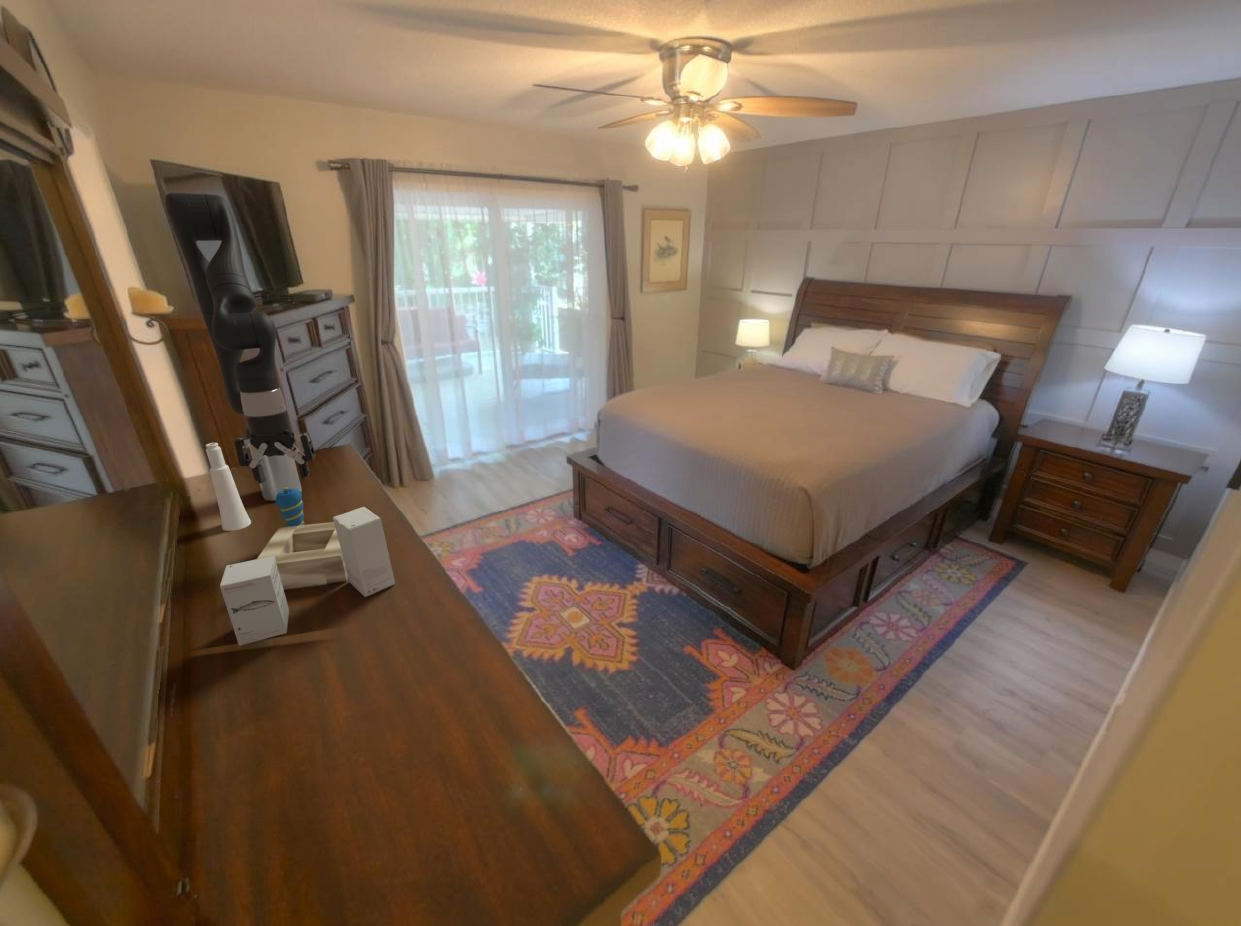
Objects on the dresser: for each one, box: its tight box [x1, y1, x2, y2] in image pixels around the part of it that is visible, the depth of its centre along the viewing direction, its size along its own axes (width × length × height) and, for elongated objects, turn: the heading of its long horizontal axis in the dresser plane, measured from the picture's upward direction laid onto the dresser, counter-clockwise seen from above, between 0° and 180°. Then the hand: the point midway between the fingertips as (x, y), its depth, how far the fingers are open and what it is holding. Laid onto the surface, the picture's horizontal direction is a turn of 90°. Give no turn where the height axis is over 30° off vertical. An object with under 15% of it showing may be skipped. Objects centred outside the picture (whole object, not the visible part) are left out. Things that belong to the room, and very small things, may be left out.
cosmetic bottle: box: [205, 442, 252, 532], centre depth 123 cm, size 6×6×22 cm
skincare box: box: [332, 506, 396, 598], centre depth 102 cm, size 8×7×16 cm
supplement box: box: [219, 556, 290, 647], centre depth 90 cm, size 7×7×13 cm
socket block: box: [256, 521, 349, 591], centre depth 110 cm, size 16×16×6 cm
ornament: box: [275, 487, 306, 527], centre depth 118 cm, size 5×5×15 cm
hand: (283, 480), depth 114 cm, fingers open, 8 cm apart
